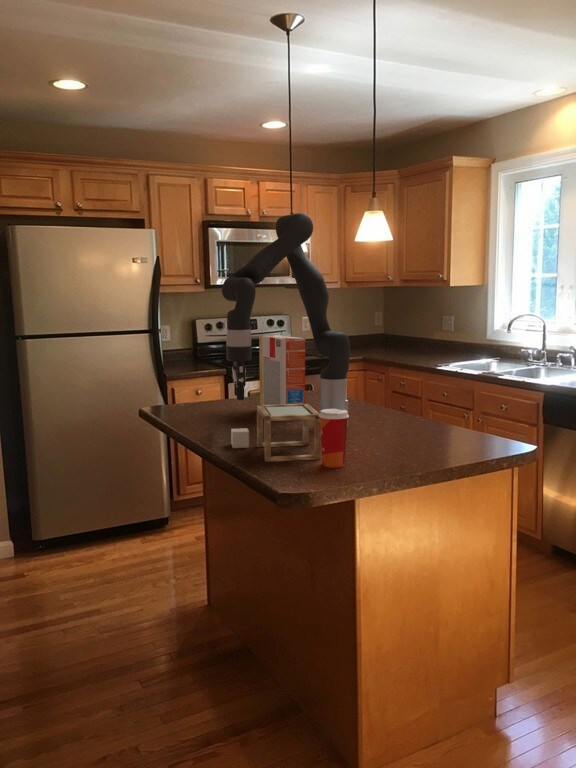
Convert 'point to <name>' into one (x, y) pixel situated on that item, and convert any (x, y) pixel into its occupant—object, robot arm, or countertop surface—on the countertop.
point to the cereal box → (282, 370)
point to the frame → (268, 444)
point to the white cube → (240, 438)
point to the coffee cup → (333, 437)
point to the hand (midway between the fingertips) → (239, 397)
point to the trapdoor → (286, 410)
